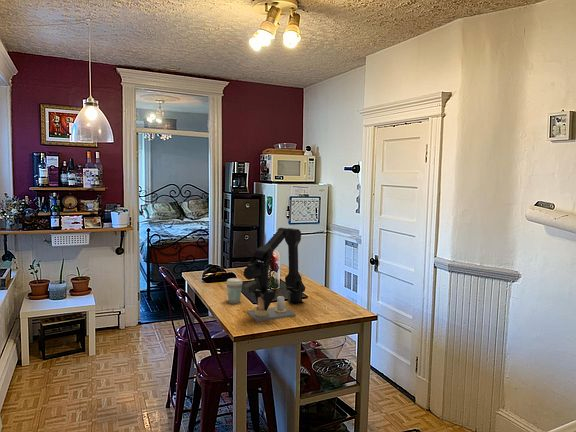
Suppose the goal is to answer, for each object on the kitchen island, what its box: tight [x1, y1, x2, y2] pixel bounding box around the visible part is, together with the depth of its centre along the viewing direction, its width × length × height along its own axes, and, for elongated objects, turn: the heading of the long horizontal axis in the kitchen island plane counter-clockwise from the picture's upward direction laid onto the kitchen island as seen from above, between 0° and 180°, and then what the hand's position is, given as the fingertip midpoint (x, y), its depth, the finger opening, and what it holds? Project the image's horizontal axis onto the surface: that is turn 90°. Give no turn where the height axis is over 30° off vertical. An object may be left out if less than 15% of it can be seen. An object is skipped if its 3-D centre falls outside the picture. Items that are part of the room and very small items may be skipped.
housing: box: [246, 295, 297, 323], centre depth 209 cm, size 20×13×8 cm, turn 116°
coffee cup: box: [225, 277, 243, 305], centre depth 226 cm, size 8×9×12 cm
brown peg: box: [257, 296, 264, 310], centre depth 206 cm, size 4×4×8 cm
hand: (261, 307), depth 207 cm, fingers open, 9 cm apart
